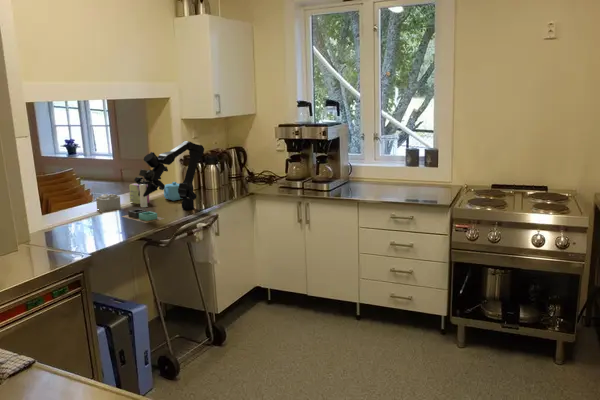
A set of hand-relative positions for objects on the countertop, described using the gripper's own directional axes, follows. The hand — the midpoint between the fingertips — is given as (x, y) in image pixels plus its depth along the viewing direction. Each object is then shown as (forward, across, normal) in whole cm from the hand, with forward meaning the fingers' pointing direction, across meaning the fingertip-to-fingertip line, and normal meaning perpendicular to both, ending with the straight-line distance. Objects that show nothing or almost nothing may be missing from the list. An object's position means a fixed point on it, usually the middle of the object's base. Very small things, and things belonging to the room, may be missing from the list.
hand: (141, 195), depth 274 cm
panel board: (+8, -2, +11) cm, 14 cm away
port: (+8, +3, +10) cm, 13 cm away
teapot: (-25, -26, +45) cm, 58 cm away
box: (-10, -36, +30) cm, 47 cm away
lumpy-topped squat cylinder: (+5, -36, +14) cm, 39 cm away
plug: (+3, 0, +5) cm, 6 cm away
